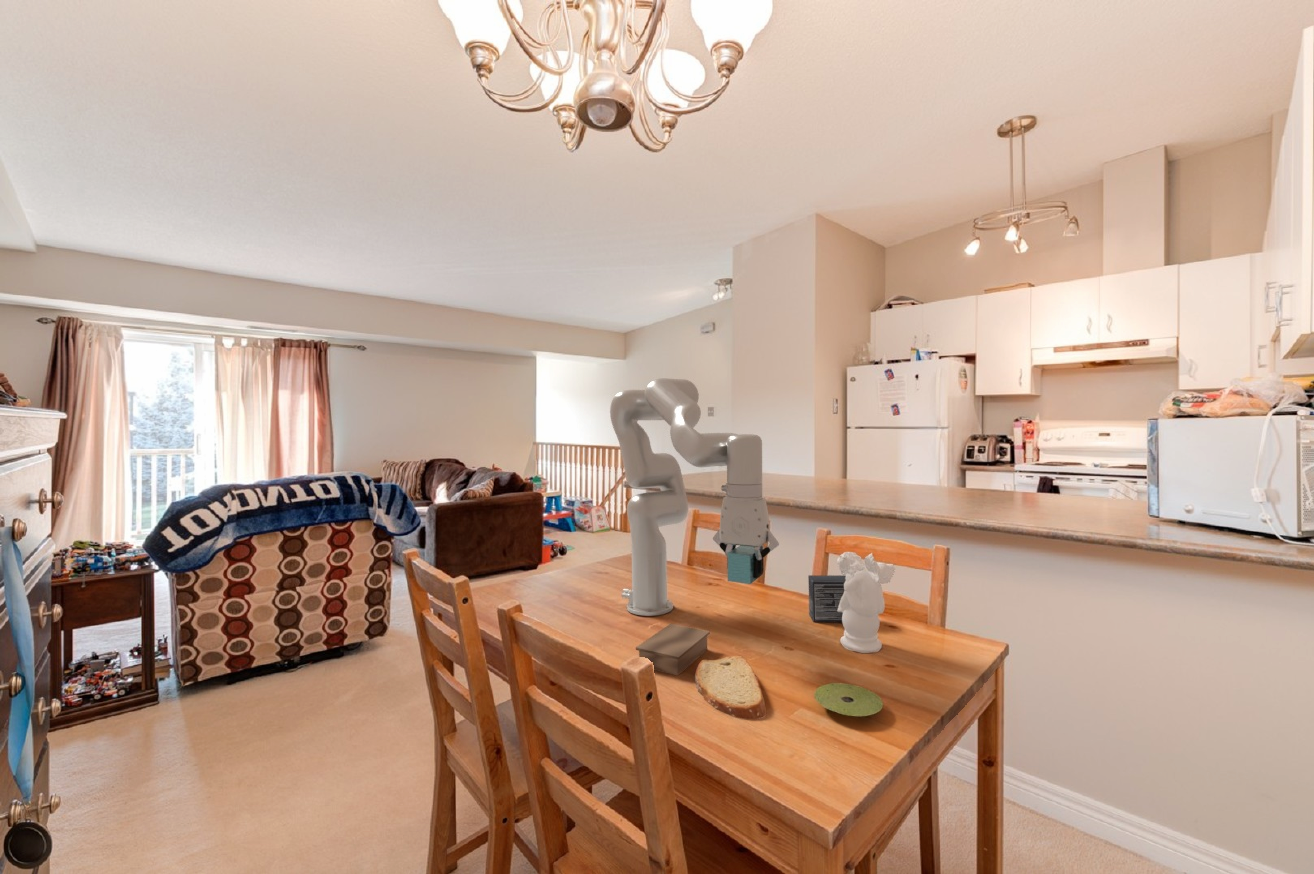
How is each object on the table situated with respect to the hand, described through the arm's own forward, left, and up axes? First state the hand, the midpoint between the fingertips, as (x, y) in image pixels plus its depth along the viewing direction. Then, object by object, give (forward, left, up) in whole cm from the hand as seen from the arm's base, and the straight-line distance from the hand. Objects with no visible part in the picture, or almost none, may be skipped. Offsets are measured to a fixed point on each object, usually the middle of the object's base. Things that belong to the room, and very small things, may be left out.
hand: (745, 574), depth 116 cm
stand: (-13, -9, -17) cm, 23 cm away
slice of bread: (+3, -15, -18) cm, 24 cm away
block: (0, 0, -1) cm, 1 cm away
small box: (+12, +30, -18) cm, 37 cm away
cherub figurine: (+23, +17, -18) cm, 33 cm away
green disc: (+24, -13, -18) cm, 32 cm away
